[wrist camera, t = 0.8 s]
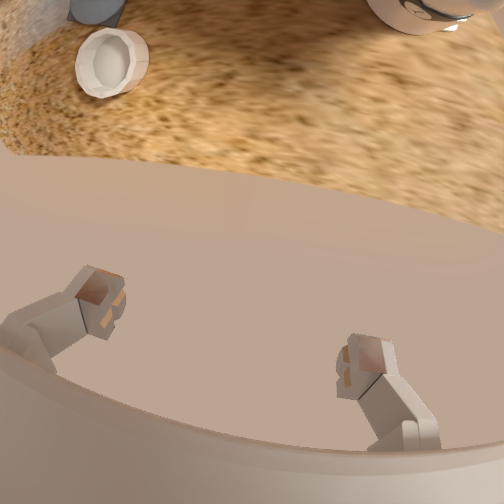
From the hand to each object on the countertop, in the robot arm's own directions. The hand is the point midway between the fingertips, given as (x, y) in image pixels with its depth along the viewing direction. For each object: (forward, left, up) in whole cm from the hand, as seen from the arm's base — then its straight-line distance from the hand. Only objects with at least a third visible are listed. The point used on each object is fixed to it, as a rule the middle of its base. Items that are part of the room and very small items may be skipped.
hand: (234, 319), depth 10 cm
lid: (-11, -39, -42) cm, 59 cm away
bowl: (+1, -30, -43) cm, 52 cm away
